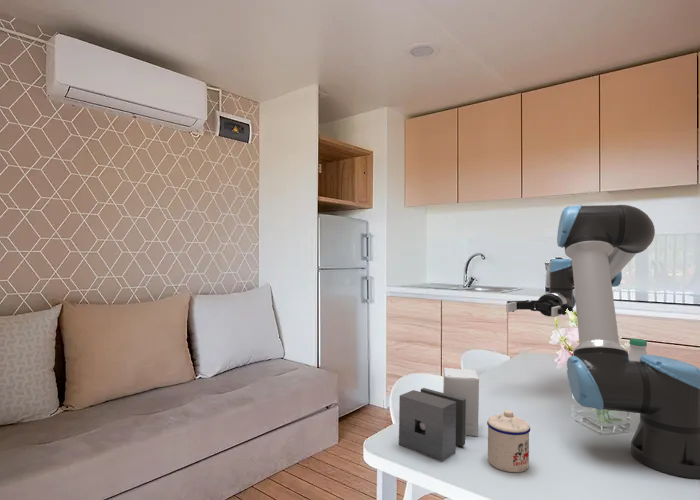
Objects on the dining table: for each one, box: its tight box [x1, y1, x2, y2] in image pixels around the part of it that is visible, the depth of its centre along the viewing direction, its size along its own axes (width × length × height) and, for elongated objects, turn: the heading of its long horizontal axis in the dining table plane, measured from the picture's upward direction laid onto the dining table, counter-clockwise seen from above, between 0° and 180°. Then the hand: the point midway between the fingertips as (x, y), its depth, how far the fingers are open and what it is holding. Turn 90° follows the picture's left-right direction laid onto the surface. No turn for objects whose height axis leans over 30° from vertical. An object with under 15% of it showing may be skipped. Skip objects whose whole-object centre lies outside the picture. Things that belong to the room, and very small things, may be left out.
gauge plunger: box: [419, 387, 466, 447], centre depth 104 cm, size 14×10×11 cm, turn 47°
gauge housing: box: [398, 389, 457, 463], centre depth 106 cm, size 15×15×12 cm
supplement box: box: [442, 367, 480, 437], centre depth 114 cm, size 9×9×15 cm
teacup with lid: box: [486, 409, 531, 473], centre depth 96 cm, size 12×9×12 cm
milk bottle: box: [628, 338, 648, 361], centre depth 137 cm, size 8×8×20 cm
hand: (529, 310), depth 130 cm, fingers open, 13 cm apart
